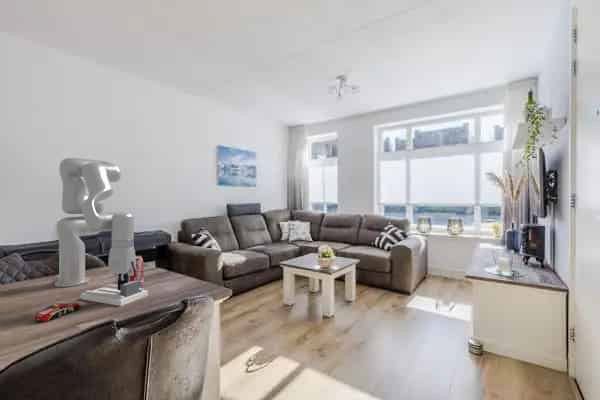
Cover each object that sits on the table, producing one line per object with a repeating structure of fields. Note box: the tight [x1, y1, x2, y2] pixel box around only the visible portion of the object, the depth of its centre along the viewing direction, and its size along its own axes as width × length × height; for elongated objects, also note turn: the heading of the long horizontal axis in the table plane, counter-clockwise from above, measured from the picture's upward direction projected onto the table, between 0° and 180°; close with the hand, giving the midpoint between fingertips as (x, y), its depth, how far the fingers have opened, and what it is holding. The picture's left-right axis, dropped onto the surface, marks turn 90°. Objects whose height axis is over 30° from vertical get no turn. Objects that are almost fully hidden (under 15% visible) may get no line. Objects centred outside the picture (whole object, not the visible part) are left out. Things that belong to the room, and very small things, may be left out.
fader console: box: [80, 283, 149, 307], centre depth 114 cm, size 22×12×3 cm, turn 71°
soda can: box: [128, 255, 144, 286], centre depth 130 cm, size 7×7×13 cm
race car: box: [34, 301, 80, 322], centre depth 97 cm, size 13×5×4 cm, turn 169°
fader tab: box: [120, 281, 140, 297], centre depth 111 cm, size 3×6×4 cm, turn 161°
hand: (122, 289), depth 112 cm, fingers closed
